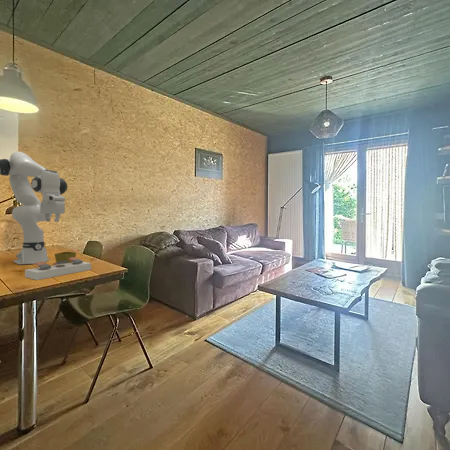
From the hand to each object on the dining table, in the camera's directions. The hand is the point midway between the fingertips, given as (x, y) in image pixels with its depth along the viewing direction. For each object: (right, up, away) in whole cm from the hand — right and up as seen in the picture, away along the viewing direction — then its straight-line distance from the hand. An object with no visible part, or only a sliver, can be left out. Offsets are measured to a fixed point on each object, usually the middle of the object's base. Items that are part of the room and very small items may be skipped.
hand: (52, 221), depth 154 cm
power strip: (+7, -30, -1) cm, 30 cm away
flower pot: (-2, -29, +16) cm, 33 cm away
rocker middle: (+6, -24, -2) cm, 25 cm away
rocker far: (+11, -23, +5) cm, 26 cm away
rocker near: (+2, -24, -10) cm, 26 cm away
